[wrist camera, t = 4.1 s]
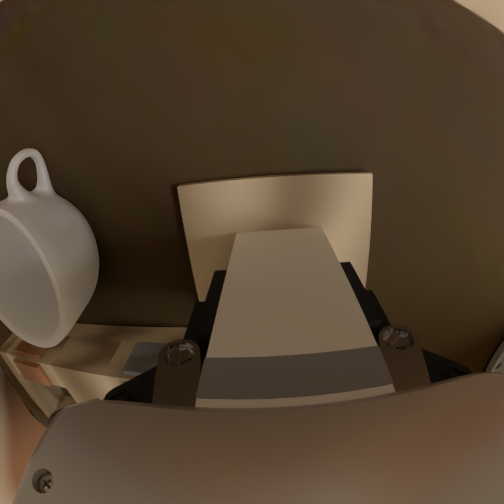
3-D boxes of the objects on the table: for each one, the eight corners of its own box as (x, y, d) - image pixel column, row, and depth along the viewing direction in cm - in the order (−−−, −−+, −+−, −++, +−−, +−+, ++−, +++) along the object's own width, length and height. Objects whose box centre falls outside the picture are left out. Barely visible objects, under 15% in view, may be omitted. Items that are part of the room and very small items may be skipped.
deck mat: (368, 171, 12) (372, 173, 12) (357, 323, 16) (359, 329, 16) (180, 184, 13) (177, 186, 13) (209, 333, 17) (207, 338, 16)
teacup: (118, 308, 17) (80, 366, 12) (33, 279, 16) (-11, 321, 11) (122, 144, 12) (53, 161, 7) (23, 139, 12) (-42, 156, 7)
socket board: (231, 322, 16) (221, 387, 12) (249, 416, 21) (246, 467, 16) (25, 315, 18) (-7, 350, 13) (73, 395, 22) (55, 430, 18)
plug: (322, 226, 13) (404, 413, 4) (320, 298, 15) (362, 479, 6) (235, 232, 14) (188, 429, 4) (245, 303, 15) (224, 489, 6)
